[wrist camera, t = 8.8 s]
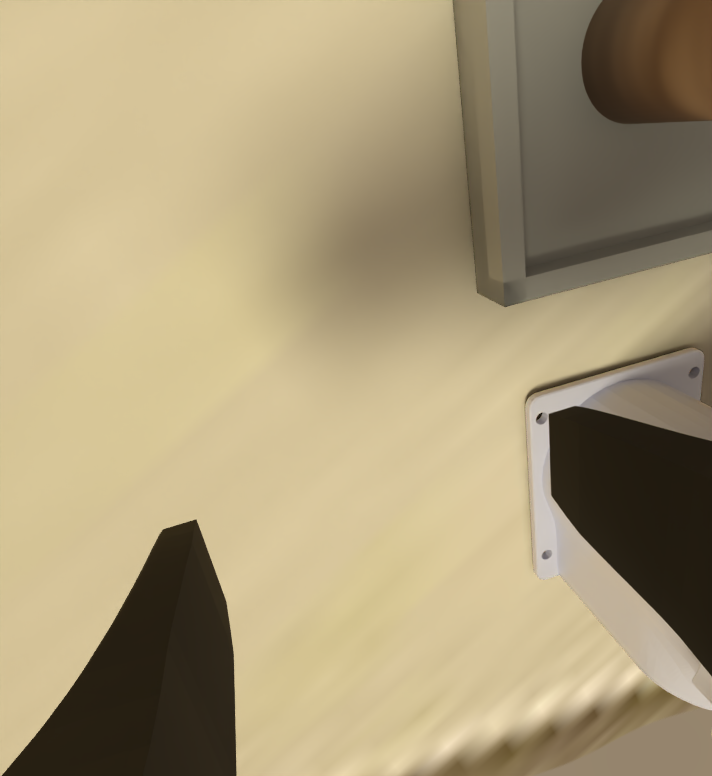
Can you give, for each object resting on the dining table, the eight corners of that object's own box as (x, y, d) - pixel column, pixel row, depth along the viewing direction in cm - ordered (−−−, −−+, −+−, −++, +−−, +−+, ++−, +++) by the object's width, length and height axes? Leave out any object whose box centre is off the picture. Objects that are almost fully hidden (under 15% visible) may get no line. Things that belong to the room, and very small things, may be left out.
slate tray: (737, 226, 22) (785, 233, 21) (477, 292, 21) (504, 307, 19) (787, -225, 17) (859, -269, 15) (436, -188, 15) (470, -233, 13)
